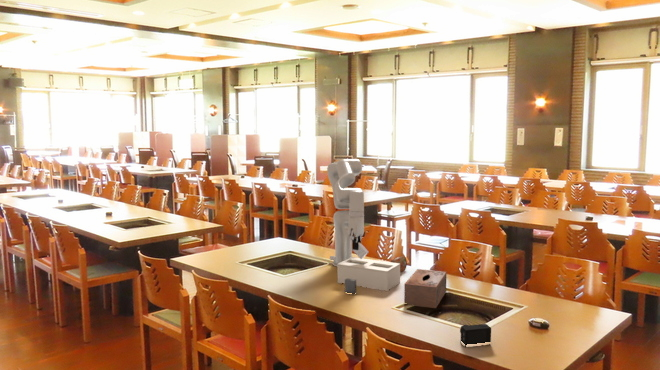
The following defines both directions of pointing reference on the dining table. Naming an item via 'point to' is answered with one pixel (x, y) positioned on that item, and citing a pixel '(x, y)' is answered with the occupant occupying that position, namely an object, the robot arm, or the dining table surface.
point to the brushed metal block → (350, 286)
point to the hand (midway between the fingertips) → (356, 248)
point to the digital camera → (475, 334)
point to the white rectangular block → (369, 273)
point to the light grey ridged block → (361, 251)
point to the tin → (402, 263)
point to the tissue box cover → (425, 288)
